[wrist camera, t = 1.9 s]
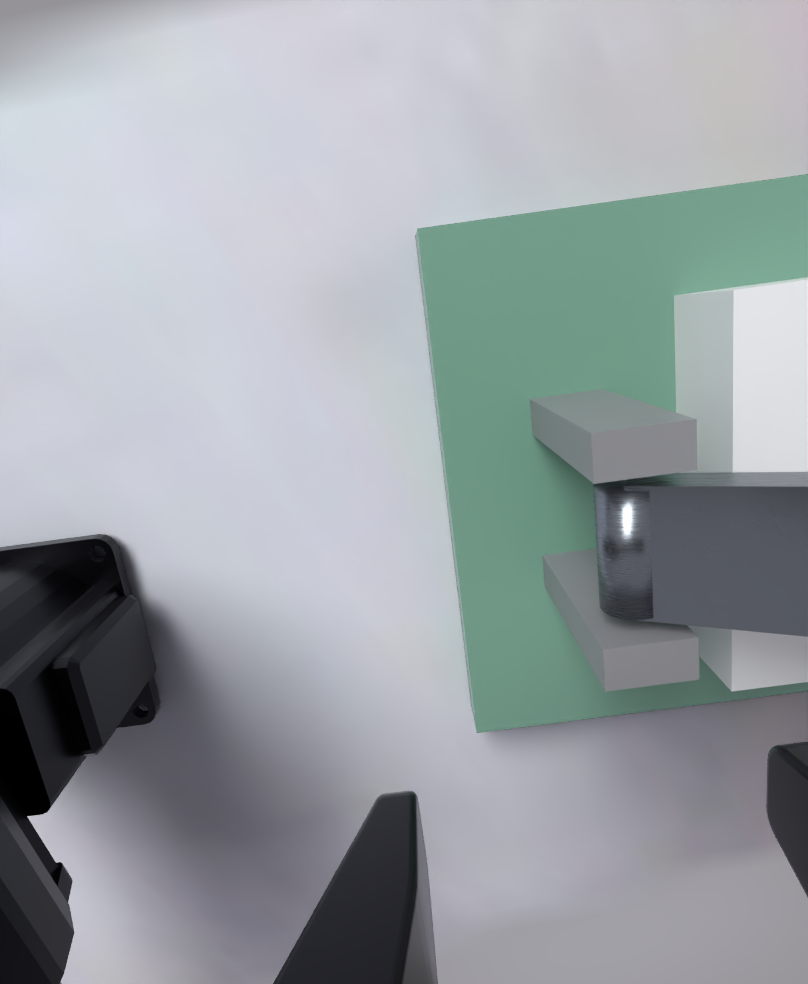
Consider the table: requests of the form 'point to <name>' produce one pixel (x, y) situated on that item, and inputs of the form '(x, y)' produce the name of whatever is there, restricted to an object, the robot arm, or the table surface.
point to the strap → (705, 550)
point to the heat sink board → (609, 428)
